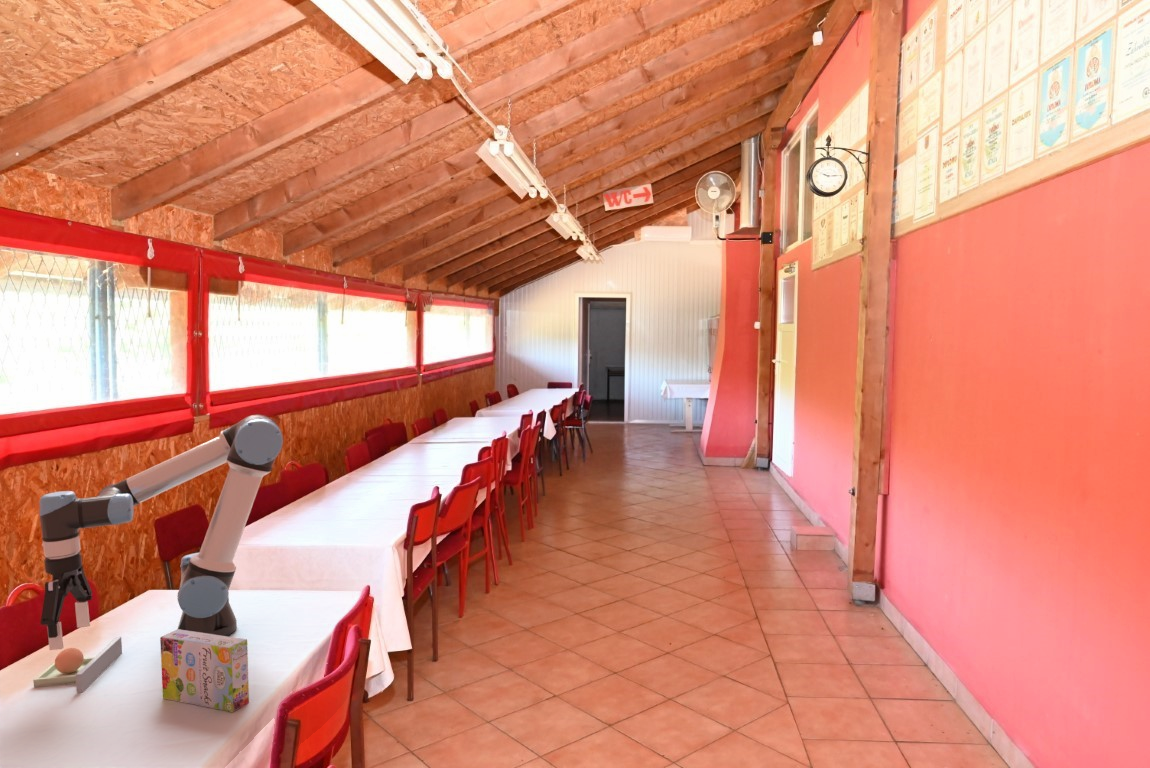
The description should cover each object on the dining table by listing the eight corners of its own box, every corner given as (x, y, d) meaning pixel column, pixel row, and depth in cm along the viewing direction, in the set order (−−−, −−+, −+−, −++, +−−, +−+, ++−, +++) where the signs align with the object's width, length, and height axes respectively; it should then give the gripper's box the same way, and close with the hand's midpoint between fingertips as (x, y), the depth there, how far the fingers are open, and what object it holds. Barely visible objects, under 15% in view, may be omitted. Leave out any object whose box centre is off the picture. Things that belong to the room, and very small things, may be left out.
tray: (104, 662, 191) (103, 656, 191) (83, 682, 180) (83, 675, 180) (57, 666, 189) (56, 660, 189) (33, 687, 178) (33, 679, 178)
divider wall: (122, 653, 196) (121, 636, 196) (82, 692, 175) (81, 674, 175) (117, 653, 196) (116, 637, 196) (76, 693, 175) (75, 674, 174)
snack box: (251, 701, 170) (248, 638, 168) (232, 713, 164) (229, 648, 163) (180, 688, 176) (177, 627, 175) (160, 699, 171) (157, 636, 170)
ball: (88, 665, 188) (87, 643, 187) (77, 676, 182) (75, 652, 182) (62, 668, 187) (61, 645, 186) (50, 678, 181) (48, 655, 180)
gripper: (71, 541, 194) (78, 619, 196) (17, 572, 169) (26, 661, 171) (102, 539, 195) (109, 616, 197) (53, 569, 171) (61, 657, 172)
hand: (70, 637), depth 184 cm, fingers open, 13 cm apart
